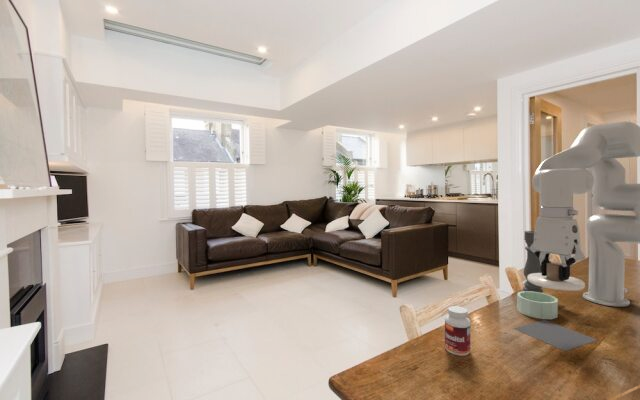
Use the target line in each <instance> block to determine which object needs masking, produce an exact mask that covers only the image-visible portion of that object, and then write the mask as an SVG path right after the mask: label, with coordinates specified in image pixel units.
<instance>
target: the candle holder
mask: <svg viewBox="0 0 640 400" xmlns="http://www.w3.org/2000/svg"><path fill="white" fill-rule="evenodd" d="M534 231H535V230H524V239H523V240H524V242H525V243H526V246H525V248H524V249H525V250H526V254H527V255H526V262H525V265H524V268H523V275H524V277H525V280H526V281H525V282H524V283H523V288H522V292H523V291H533V292H540V293H544V289H542V288H543V287H541V286H537V285H534V284H532V283H530V282H529V281H528V280H527V276H528V275H529V274H532V273H542V272H541V262H540V261H539V258H538V257H537V256H536V255H535V253H534V252H532V251H531V250H530V249H529V248H530V246H531V245H532V244H533V242H534Z"/></svg>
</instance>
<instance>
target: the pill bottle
mask: <svg viewBox="0 0 640 400" xmlns="http://www.w3.org/2000/svg"><path fill="white" fill-rule="evenodd" d="M468 312H469V311H468V309H467V308H465V307H462V306H458V305H457V306H456V305H454V306H452V305H451V306H449V307H448V309H447V315H446V316H445V318H444V348H445V350H446V351H447V352H448V353H449V354H452V355H454V356H462V357H463V356H468V355H469V354H470V352H471V319H469V318H468V315H469V314H468Z"/></svg>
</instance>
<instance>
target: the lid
mask: <svg viewBox="0 0 640 400" xmlns="http://www.w3.org/2000/svg"><path fill="white" fill-rule="evenodd" d="M560 266H562V264H561V262H553V261H551V262H548V263H546V276H542V273H532V274H529V275H528V276H527V280H528V281H529V282H530V283H532V284H534V285H537V286H541V287H542V288H546V289H550V290H557V291H570V292H572V291H583V290H584V289H585V287H586V283H585V281H583V280H582V279H579V278H577V277H573V276H570V277H569V279H568V280H564V281H561V280H559V267H560ZM527 280H526V281H527Z"/></svg>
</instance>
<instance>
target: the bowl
mask: <svg viewBox="0 0 640 400" xmlns="http://www.w3.org/2000/svg"><path fill="white" fill-rule="evenodd" d="M558 301H559V299H558V298H557V297H555V296H554V295H552V294H547V293H544V292H543V293H540V292H533V291H523V290H522V291H518V292H517V293H516V310H517V311H518V312H519V313H520V314H523V315H525V316H527V317H529V318H535V319H538V320H539V319H540V320H554V319H557V318H558V309H559V305H558V303H559V302H558Z"/></svg>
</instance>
